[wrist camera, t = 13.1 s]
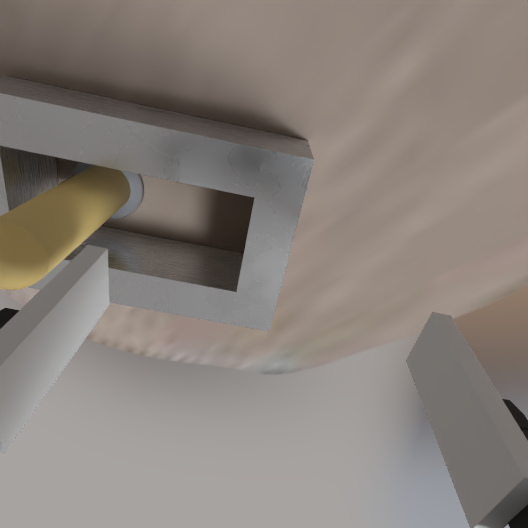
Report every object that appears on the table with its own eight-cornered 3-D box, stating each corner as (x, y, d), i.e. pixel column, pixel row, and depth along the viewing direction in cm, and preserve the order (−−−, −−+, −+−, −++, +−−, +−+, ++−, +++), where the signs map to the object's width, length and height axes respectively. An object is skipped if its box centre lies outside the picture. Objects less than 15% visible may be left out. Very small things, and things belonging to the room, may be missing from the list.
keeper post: (75, 143, 23) (-88, 207, 13) (144, 158, 23) (39, 232, 13) (78, 208, 25) (-58, 307, 15) (142, 221, 25) (50, 326, 15)
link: (29, 242, 27) (-21, 278, 22) (6, 75, 21) (-66, 79, 17) (271, 288, 28) (268, 331, 23) (307, 140, 22) (313, 159, 18)
